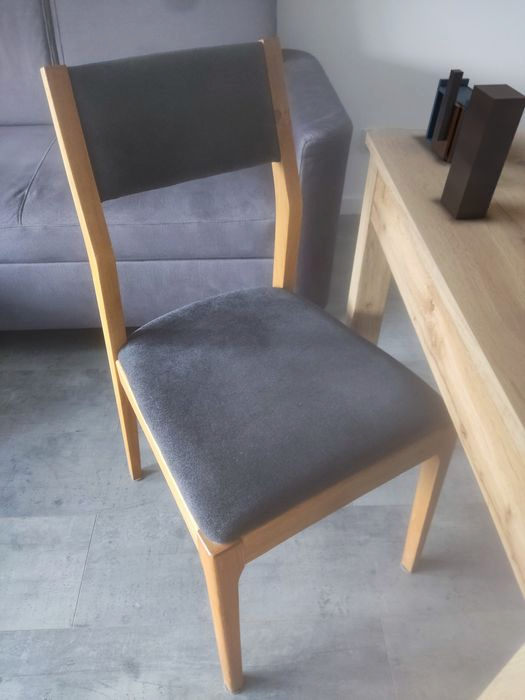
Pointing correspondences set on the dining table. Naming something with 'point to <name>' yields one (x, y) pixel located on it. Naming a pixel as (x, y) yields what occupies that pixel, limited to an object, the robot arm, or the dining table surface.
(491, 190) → the plinth
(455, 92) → the door
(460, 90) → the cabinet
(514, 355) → the dining table surface
